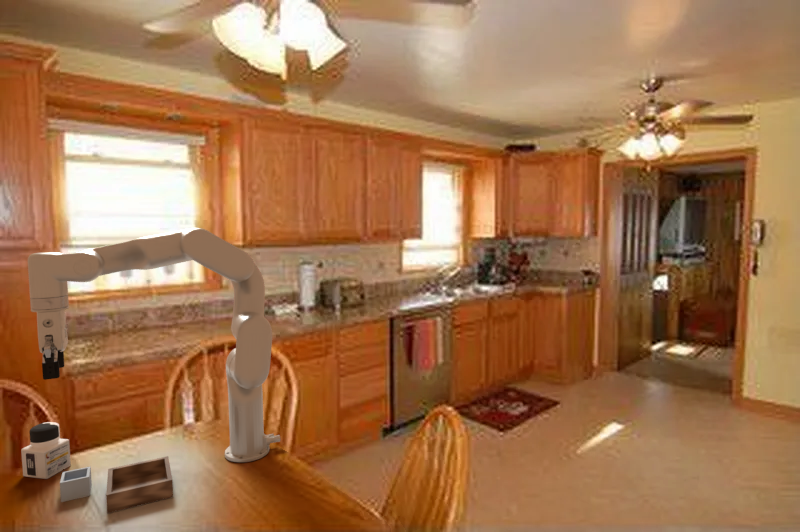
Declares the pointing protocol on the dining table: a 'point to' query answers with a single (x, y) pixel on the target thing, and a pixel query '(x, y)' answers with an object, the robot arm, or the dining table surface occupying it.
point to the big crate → (138, 484)
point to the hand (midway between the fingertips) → (54, 373)
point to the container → (45, 452)
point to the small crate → (75, 484)
